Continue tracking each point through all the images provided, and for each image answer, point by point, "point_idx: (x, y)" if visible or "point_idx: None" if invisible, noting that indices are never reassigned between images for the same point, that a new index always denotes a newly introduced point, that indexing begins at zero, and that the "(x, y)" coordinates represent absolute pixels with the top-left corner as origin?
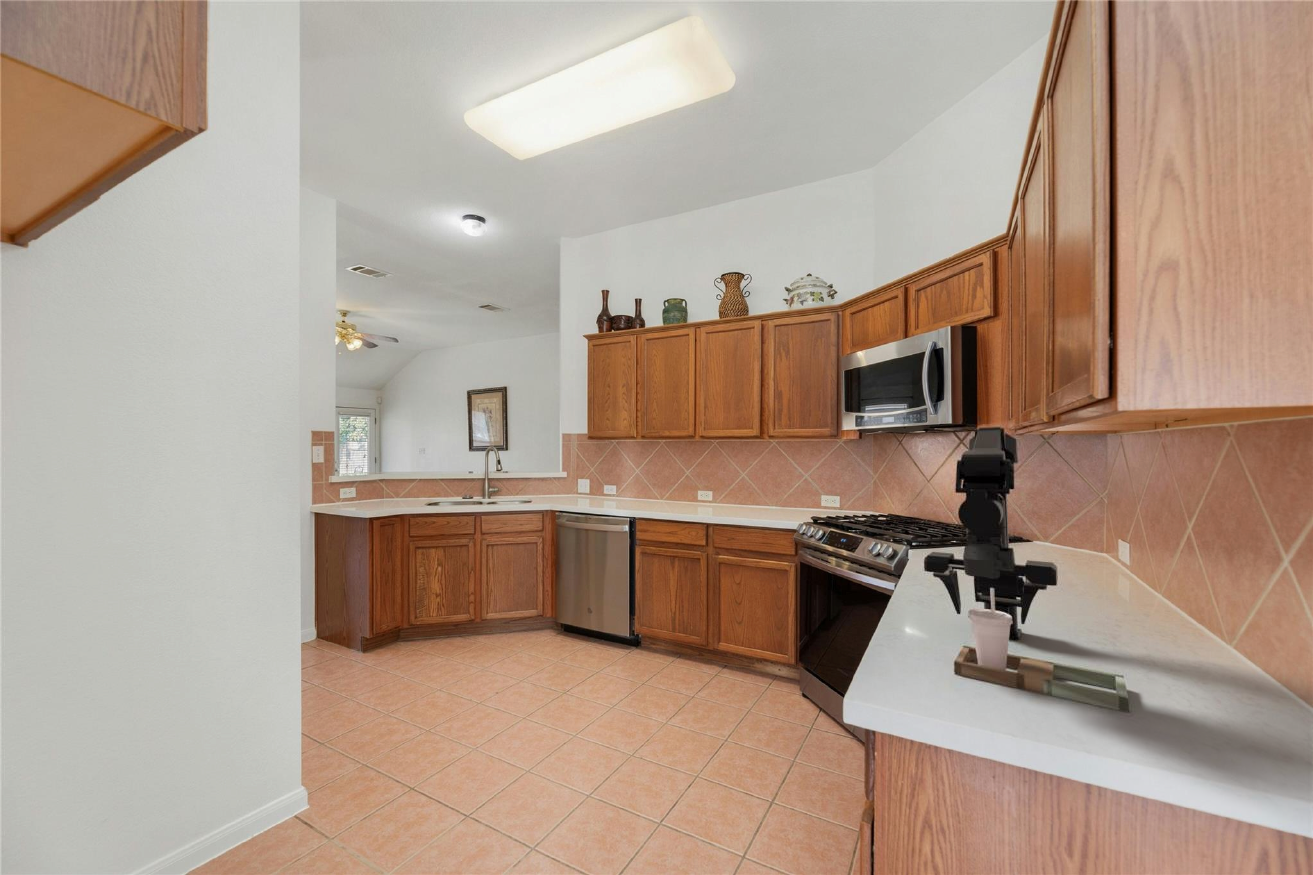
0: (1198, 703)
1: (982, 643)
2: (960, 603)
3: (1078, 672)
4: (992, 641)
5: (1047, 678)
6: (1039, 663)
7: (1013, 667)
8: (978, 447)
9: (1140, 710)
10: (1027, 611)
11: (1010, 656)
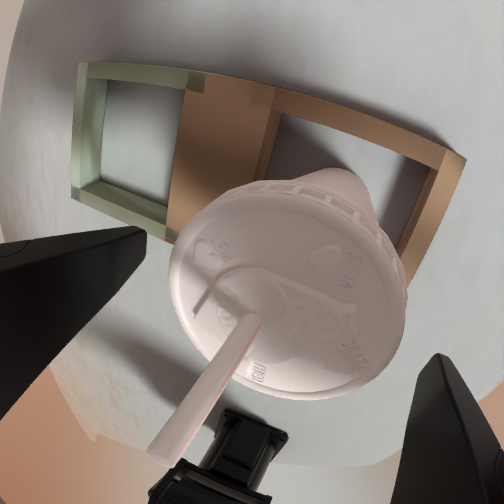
0: (37, 168)
1: (360, 198)
2: (411, 423)
3: (131, 206)
4: (317, 180)
5: (193, 94)
6: None
7: None
8: None
9: None
10: (68, 236)
11: None
